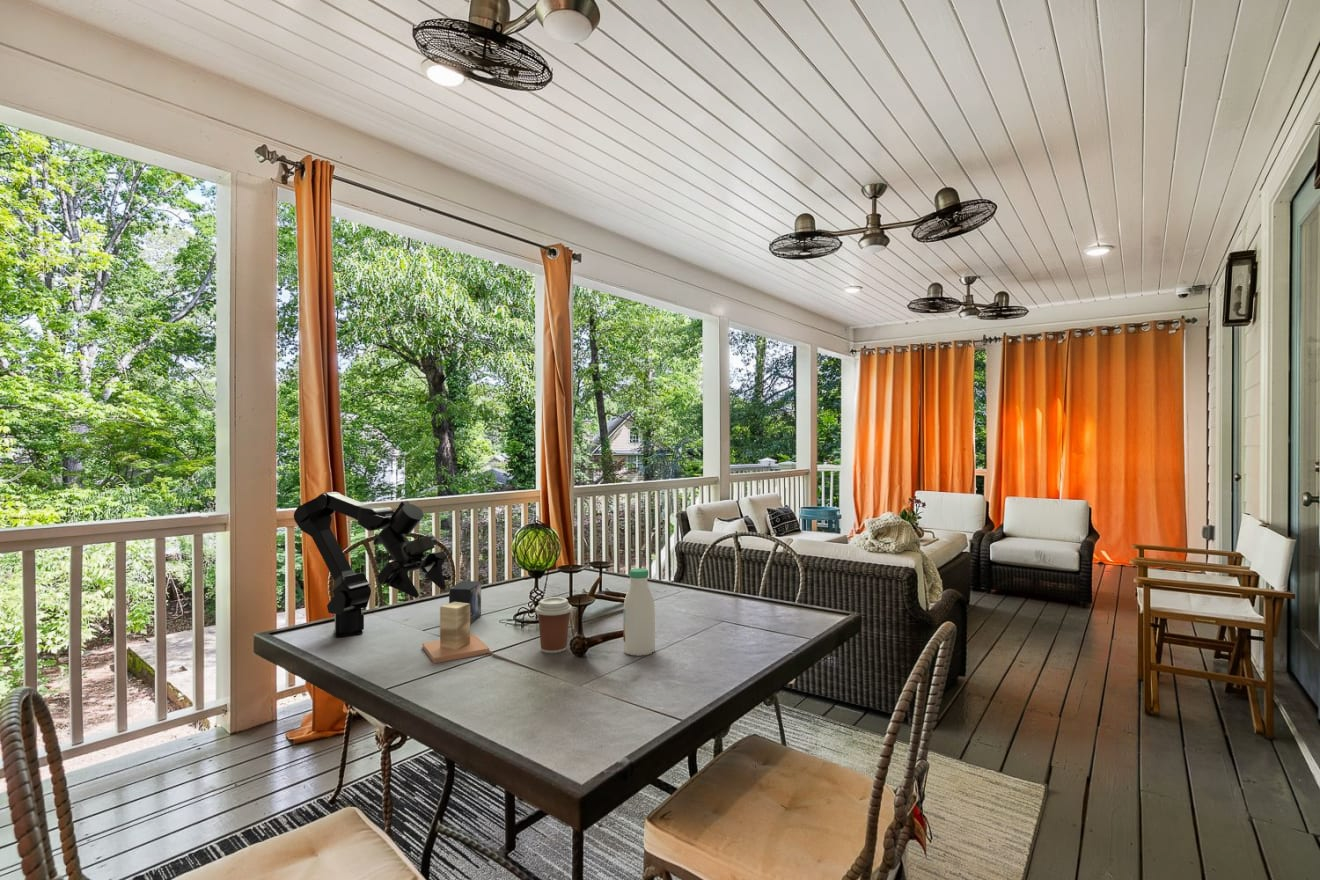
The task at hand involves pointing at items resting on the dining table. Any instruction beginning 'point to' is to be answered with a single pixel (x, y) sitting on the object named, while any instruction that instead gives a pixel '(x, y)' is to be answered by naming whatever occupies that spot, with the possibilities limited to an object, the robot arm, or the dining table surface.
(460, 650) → the terracotta tile
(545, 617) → the coffee cup
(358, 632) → the robot arm
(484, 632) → the dining table surface
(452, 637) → the maple block
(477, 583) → the small box
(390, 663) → the dining table surface
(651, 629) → the milk bottle
